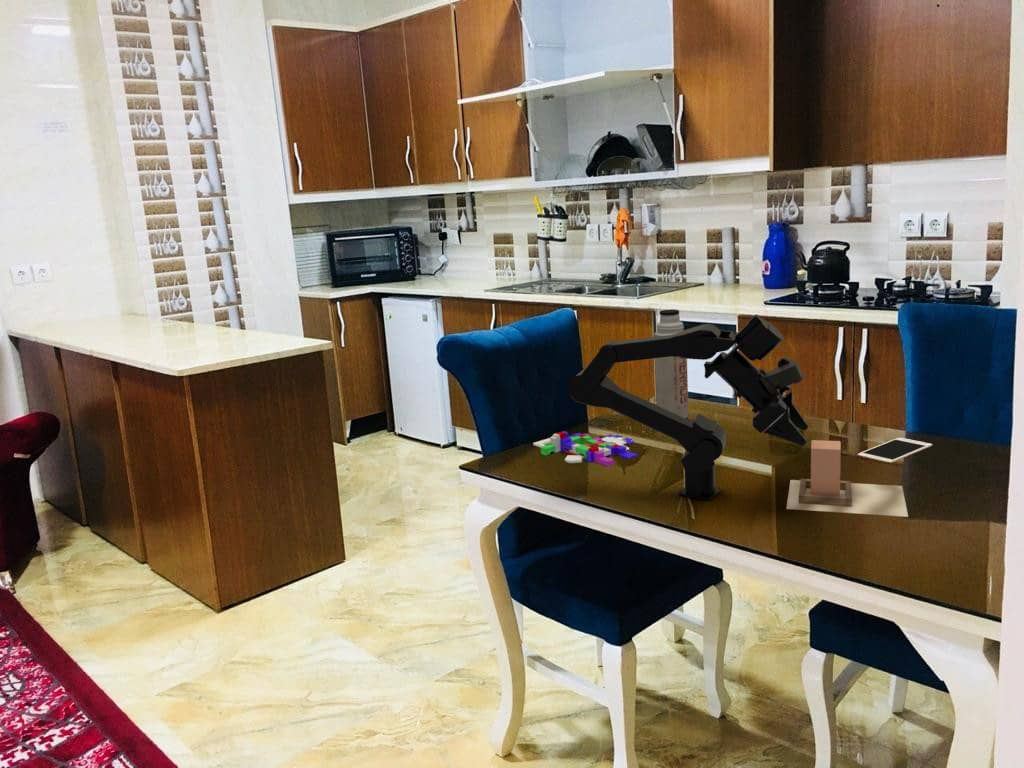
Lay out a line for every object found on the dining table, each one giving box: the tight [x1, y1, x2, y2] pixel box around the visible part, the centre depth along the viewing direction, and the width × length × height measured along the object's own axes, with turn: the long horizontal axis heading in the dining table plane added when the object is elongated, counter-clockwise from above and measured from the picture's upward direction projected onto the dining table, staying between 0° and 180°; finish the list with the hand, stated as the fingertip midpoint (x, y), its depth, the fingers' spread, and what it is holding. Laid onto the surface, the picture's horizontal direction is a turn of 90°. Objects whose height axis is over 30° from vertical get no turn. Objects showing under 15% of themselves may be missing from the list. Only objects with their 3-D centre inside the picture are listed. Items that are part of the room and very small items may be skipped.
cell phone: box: [857, 437, 933, 464], centre depth 180 cm, size 8×16×1 cm, turn 125°
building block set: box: [532, 430, 639, 467], centre depth 196 cm, size 25×20×4 cm
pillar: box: [810, 439, 842, 496], centre depth 154 cm, size 5×5×10 cm
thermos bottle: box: [653, 309, 689, 419], centre depth 213 cm, size 8×8×28 cm
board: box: [785, 478, 909, 518], centre depth 154 cm, size 20×15×2 cm
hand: (805, 436), depth 154 cm, fingers open, 9 cm apart
